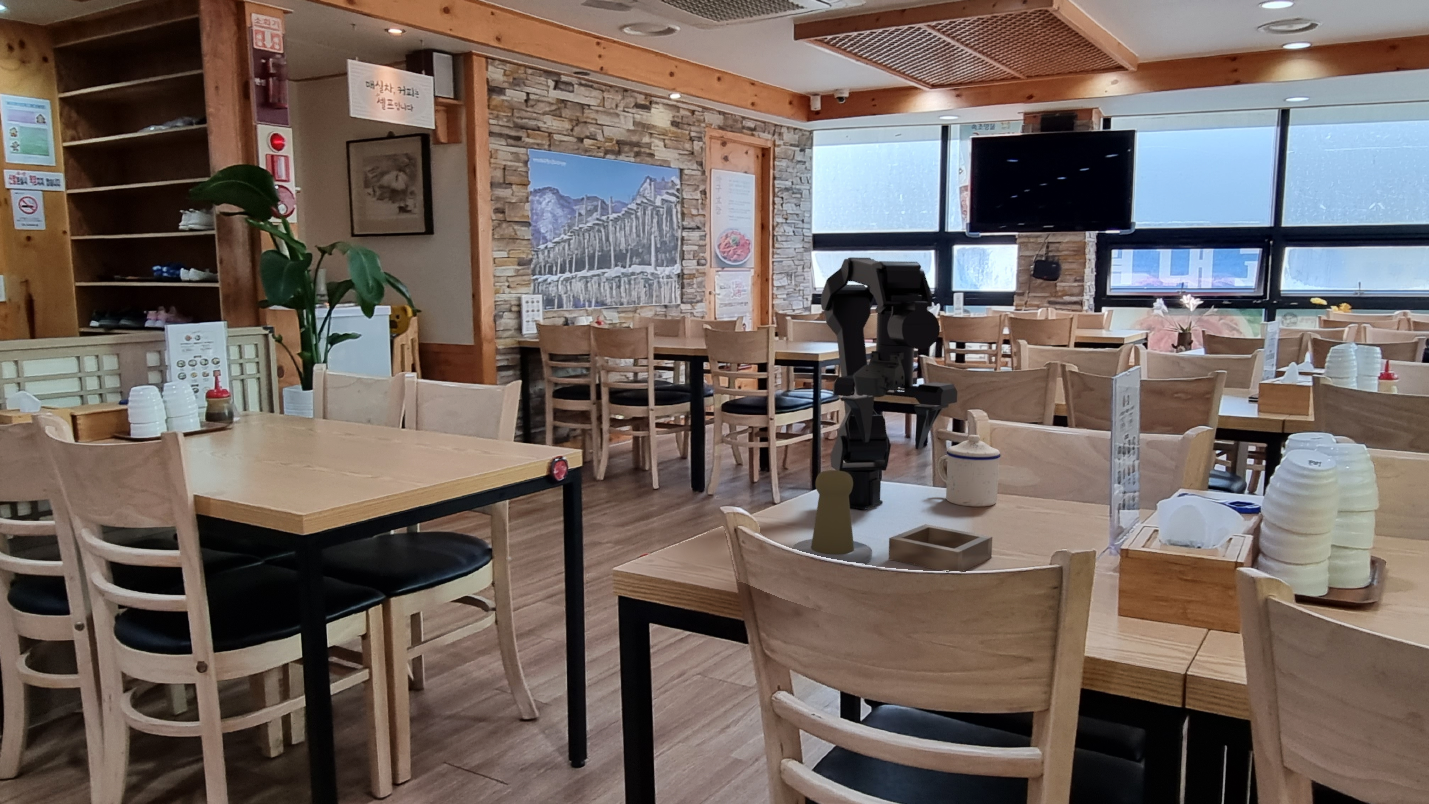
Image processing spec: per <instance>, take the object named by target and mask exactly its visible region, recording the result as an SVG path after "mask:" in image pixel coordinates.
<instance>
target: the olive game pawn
mask: <svg viewBox="0 0 1429 804" xmlns="http://www.w3.org/2000/svg"><path fill="white" fill-rule="evenodd" d="M852 488H853V479H852V477H851V475H850V474H848V473H847V472H844V471H839V470H835V469H831V470H830V469H829V470H824V471H820V472H819V473H818V474H817V476H816V479H815V490H816V491H817V493H818V494H819V495H818V500H817V507H816V512H815V520H814V521H815V522H814V527H813V533H812V538H811V539H812V545H811V549H812V550H814V551H816V552H819V553H825V554H847V553H850V552H852V551H854V543H853V541H854V536H853V534H854V533H853V526H852V525H853V524H852V514H851V507H850V504H849V494H850V493H851V491H852Z"/></svg>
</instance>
